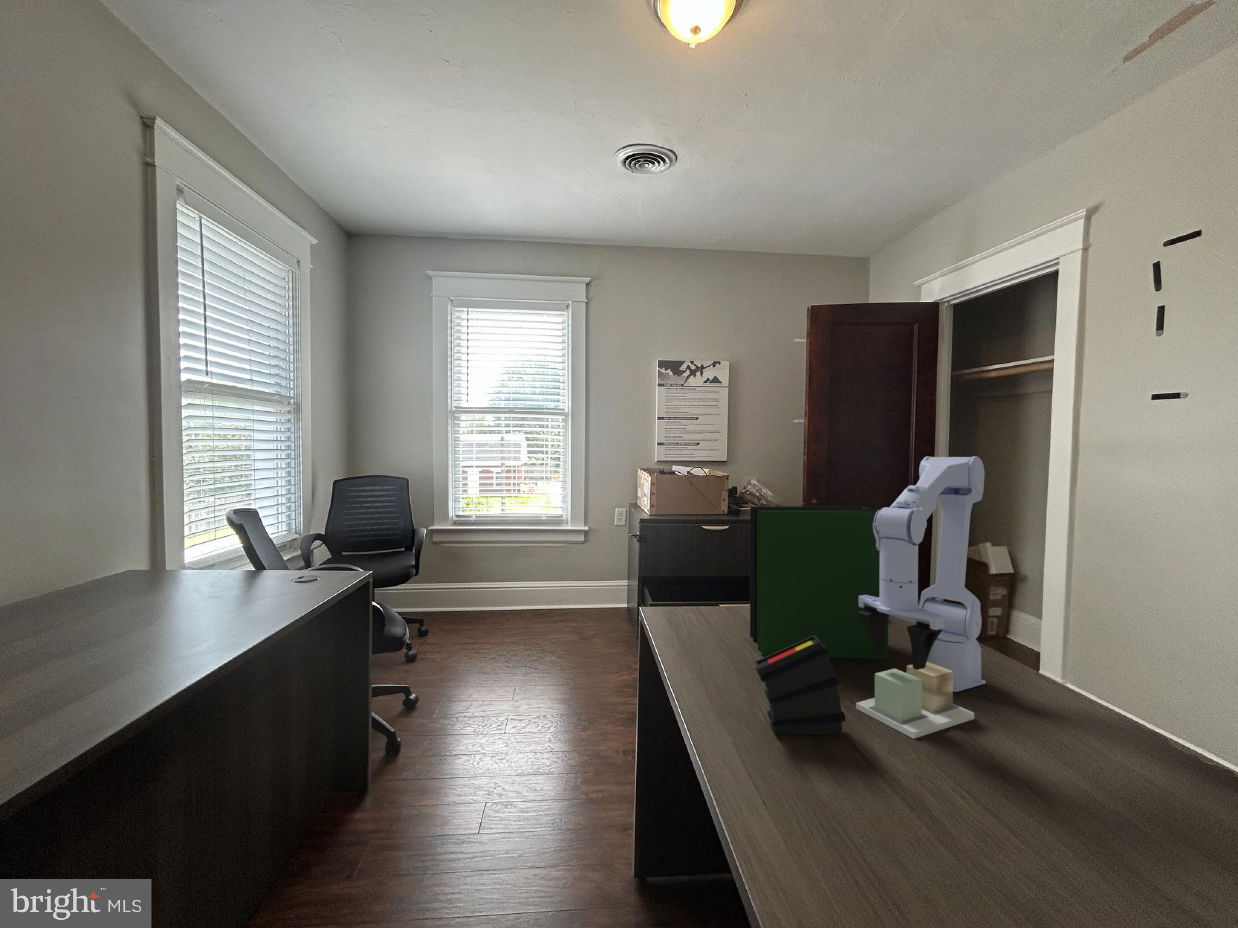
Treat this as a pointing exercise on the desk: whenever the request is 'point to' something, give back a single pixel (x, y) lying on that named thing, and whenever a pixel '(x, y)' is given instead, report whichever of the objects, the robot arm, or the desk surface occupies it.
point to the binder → (812, 577)
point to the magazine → (802, 690)
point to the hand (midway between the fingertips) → (898, 659)
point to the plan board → (919, 719)
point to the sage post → (898, 694)
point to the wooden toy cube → (934, 686)
